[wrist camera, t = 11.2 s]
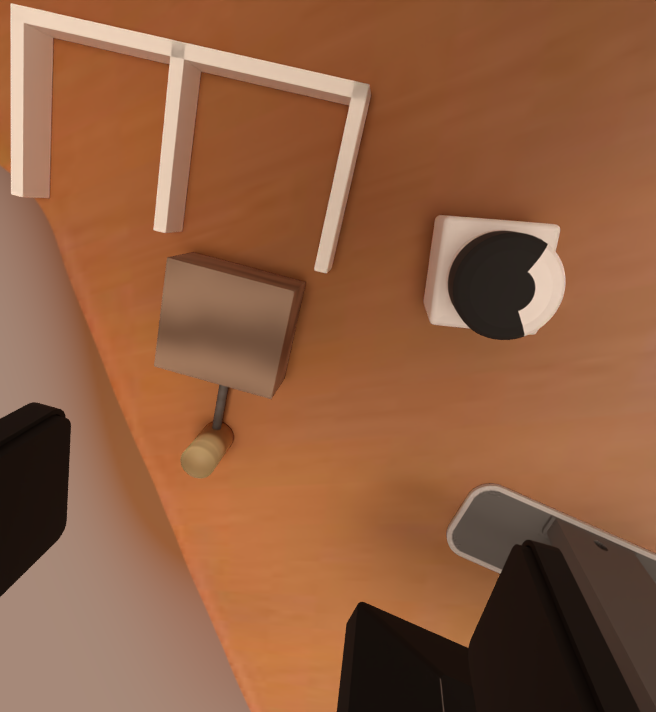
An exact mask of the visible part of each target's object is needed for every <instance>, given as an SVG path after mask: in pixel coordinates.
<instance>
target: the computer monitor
mask: <svg viewBox="0 0 656 712" xmlns="http://www.w3.org/2000/svg"><path fill="white" fill-rule="evenodd" d="M446 535H447V542H448V544H449V546H450V548H451V549H452V551H453V552H454V553H456V554H457V555H459V556H461V557H463V558H465V559H468V560H470V561H472V562H474V563H477V564H479V565H481V566H484V567H486V568H488V569H490V570H493V571H495V572H497V573H499V574H501V571H502V569H503V567H504V565H505V562H506V560H507V558H508V556H509V554H510V551H511V549H512V548H513V546H514V545H515V544H519V545H522V544H523V542H524V541H525V540H533V541H536V542H540V543H543V544H547V545H551V546H554V547H557V548H559V549H560V551H561V552H562V554H563V556H564V558H565V560H566V562H567V564H568V566H569V568H570V570H571V572H572V574H573V576H574V578H575V580H576V582H577V584H578V586H579V588H580V590H581V592H582V594H583V596H584V598H585V600H586V602H587V604H588V607H589V609H590V611H591V613H592V615H593V617H594V619H595V621H596V623H597V625H598V627H599V629H600V631H601V633H602V635H603V637H604V639H605V641H606V643H607V645H608V647H609V649H610V651H611V653H612V655H613V657H614V659H615V661H616V663H617V665H618V667H619V669H620V671H621V673H622V675H623V677H624V679H625V681H626V683H627V686H628V688H629V690H630V692H631V694H632V696H633V698H634V700H635V702H636V704H637V706H638V708H639V710H640V712H656V553H654V552H651V551H649V550H647V549H644V548H642V547H640V546H638V545H635V544H633V543H631V542H629V541H626V540H624V539H622V538H619V537H617V536H615V535H613V534H610V533H608V532H606V531H604V530H601V529H599V528H597V527H595V526H592V525H590V524H588V523H585V522H583V521H581V520H579V519H576V518H574V517H572V516H570V515H567V514H565V513H563V512H560V511H558V510H556V509H554V508H551V507H549V506H547V505H545V504H542V503H540V502H538V501H536V500H533V499H531V498H529V497H526V496H524V495H522V494H520V493H517V492H515V491H513V490H511V489H508V488H506V487H504V486H501V485H498V484H492V483H489V484H483V485H480V486H477V487H476V488H474V489H473V490H472V491H471V492H470V493H469V494H468V496H467V497H466V499H465V500H464V502H463V504H462V505H461V507H460V508H459V510H458V512H457V513H456V515H455V516H454V518H453V519H452V521H451V523H450V524H449V526H448V528H447V533H446ZM468 650H469V648H467V647H464V646H462V645H460V644H458V643H455V642H453V641H451V640H449V639H446V638H444V637H442V636H439V635H437V634H435V633H433V632H430V631H428V630H426V629H424V628H421V627H419V626H417V625H415V624H412V623H410V622H408V621H405V620H403V619H401V618H399V617H396V616H394V615H392V614H390V613H387V612H385V611H383V610H381V609H378V608H376V607H374V606H371V605H369V604H367V603H365V602H360V603H358V605H357V607H356V608H355V610H354V612H353V614H352V615H351V617H350V619H349V620H348V622H347V625H346V634H345V643H344V652H343V661H342V670H341V679H340V688H339V697H338V706H337V712H477V711H476V705H475V699H474V693H473V687H472V681H471V675H470V669H469V663H468Z"/></svg>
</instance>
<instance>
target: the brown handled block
mask: <svg viewBox="0 0 656 712" xmlns="http://www.w3.org/2000/svg"><path fill="white" fill-rule="evenodd" d="M305 285H306V282H304V281H300V280H297V279H293V278H289V277H285V276H282V275H278V274H274V273H270V272H266V271H263V270H259V269H255V268H251V267H247V266H244V265H240V264H236V263H232V262H229V261H225V260H221V259H217V258H213V257H210V256H206V255H202V254H198V253H194V252H192V253H187V254H182V255H177V256H172V257H168V258H167V263H166V271H165V280H164V288H163V296H162V305H161V313H160V321H159V330H158V338H157V346H156V355H155V363H154V366H155V367H158V368H162V369H165V370H169V371H173V372H176V373H180V374H183V375H187V376H190V377H194V378H198V379H201V380H205V381H208V382H212V383H215V384H219V391H218V396H217V402H216V408H215V414H214V419H213V422H211V423H209V424H208V425H207V426H206V427H205V428H204V429H203V430H202V431H201V433H200V434H199V435H198V436H197V437H196V438H195V439H194V441H193V442H192V443H191V444H190V445H189V446H188V447H187V449H186V450H185V451H184V452H183V453H182V455H181V465H182V468H183V469H184V471H185V472H186V473H187V474H189V475H190V476H192V477H195V478H205V477H208V476H209V475H210V474H211V473H212V472H213V470H214V469H215V468H216V466H217V465H218V463H219V462H220V460H221V459H222V457H223V456H224V455H225V453H226V452H227V450H228V449H229V447H230V446H231V444H232V443H233V433H232V431H231V429H230V428H229V427H228V426H227V425H226V424H224V423H222V420H223V414H224V408H225V403H226V397H227V392H228V387H230V388H233V389H237V390H241V391H244V392H248V393H251V394H255V395H258V396H262V397H266V398H269V399H272V397H273V396H274V394H275V392H276V391H277V389H278V388H279V386H280V385H281V383H282V382H283V380H284V379H285V374H286V370H287V365H288V361H289V356H290V352H291V347H292V343H293V338H294V334H295V329H296V325H297V321H298V316H299V312H300V307H301V303H302V298H303V294H304V289H305Z"/></svg>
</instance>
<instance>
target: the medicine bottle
mask: <svg viewBox="0 0 656 712" xmlns="http://www.w3.org/2000/svg"><path fill="white" fill-rule="evenodd" d="M559 234H560V227H559V226H558V225H556V224H547V223H535V222H524V221H511V220H498V219H485V218H472V217H460V216H447V215H438V216H437V217H436V218H435V223H434V230H433V237H432V244H431V251H430V259H429V266H428V273H427V280H426V287H425V294H424V301H423V302H424V306H425V309H426V312H427V315H428V318H429V321H430V323H431V324H433V325H441V326H451V327H460V328H470V329H472V330H473V331H475V332H476V333H478V334H480V335H482V336H485V337H487V338H492V339H498V340H510V339H517V338H520V337H524V336H526V335H534V334H536V333H537V331H538V329H539V328H541V327H542V326H543V325H545V324H546V323H547V322H548V321H549V320H550V319H551V318H552V316H553V315H554V314H555V312H556V311H557V309H558V307H559V306H560V303H561V301H562V299H563V295H564V291H565V272H564V267H563V265H562V262H561V260H560V258H559V256H558V254H557V253H556V247H557V243H558V239H559Z"/></svg>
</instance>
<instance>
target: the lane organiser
mask: <svg viewBox="0 0 656 712" xmlns="http://www.w3.org/2000/svg"><path fill="white" fill-rule="evenodd" d="M53 38H56V39H61V40H65V41H70V42H74V43H78V44H83V45H87V46H91V47H96V48H100V49H104V50H109V51H113V52H118V53H122V54H126V55H131V56H135V57H139V58H144V59H148V60H152V61H157V62H161V63H166V64H170V66H169V76H168V86H167V97H166V107H165V117H164V127H163V138H162V148H161V158H160V168H159V179H158V189H157V199H156V209H155V220H154V230H155V231H159V232H163V233H171V232H181V231H182V230H183V221H184V213H185V204H186V196H187V187H188V179H189V170H190V162H191V153H192V145H193V136H194V128H195V119H196V111H197V102H198V94H199V85H200V77H201V72H205V73H209V74H214V75H218V76H222V77H227V78H231V79H235V80H240V81H244V82H248V83H253V84H257V85H262V86H266V87H270V88H275V89H279V90H283V91H288V92H292V93H296V94H301V95H305V96H310V97H314V98H318V99H323V100H327V101H331V102H336V103H340V104H344V105H349V110H348V115H347V120H346V124H345V129H344V134H343V138H342V143H341V147H340V152H339V157H338V161H337V166H336V171H335V175H334V180H333V184H332V189H331V194H330V198H329V203H328V208H327V212H326V217H325V221H324V226H323V231H322V235H321V240H320V245H319V249H318V254H317V258H316V263H315V268H314V270H315V271H319V272H323V273H326V274H327V273H328V272H329V271H330V270H331V269H332V264H333V260H334V256H335V251H336V247H337V243H338V238H339V234H340V229H341V225H342V221H343V216H344V212H345V208H346V203H347V199H348V194H349V190H350V186H351V181H352V177H353V173H354V168H355V164H356V159H357V155H358V151H359V146H360V142H361V138H362V133H363V129H364V124H365V120H366V116H367V111H368V107H369V103H370V98H371V91H370V86H369V84H366V83H361V82H357V81H352V80H348V79H343V78H339V77H335V76H330V75H326V74H321V73H317V72H312V71H308V70H304V69H299V68H295V67H290V66H286V65H281V64H277V63H273V62H268V61H264V60H259V59H255V58H250V57H246V56H242V55H237V54H233V53H228V52H224V51H220V50H215V49H211V48H206V47H202V46H197V45H193V44H189V43H184V42H180V41H175V40H171V39H166V38H162V37H158V36H153V35H149V34H144V33H140V32H135V31H131V30H127V29H122V28H118V27H113V26H109V25H104V24H100V23H96V22H91V21H87V20H82V19H78V18H73V17H69V16H65V15H60V14H56V13H51V12H47V11H42V10H38V9H34V8H29V7H25V6H20V5H16V4H11V194H12V195H17V196H20V197H32V198H50V156H51V115H52V73H53Z"/></svg>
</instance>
